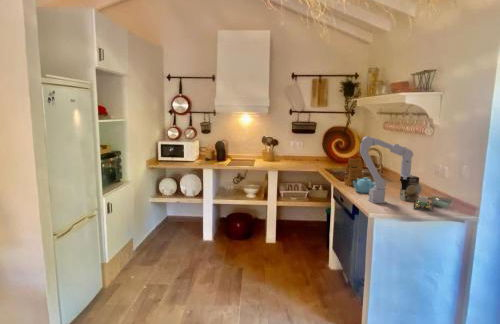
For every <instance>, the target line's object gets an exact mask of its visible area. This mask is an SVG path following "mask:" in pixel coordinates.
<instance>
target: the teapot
mask: <svg viewBox="0 0 500 324" xmlns="http://www.w3.org/2000/svg"><path fill="white" fill-rule="evenodd" d="M353 184H354V186H353V188H354V189H355V191H356V192H357V193H359V194H365V195H366V194H368V195H369V190H370V189H372V188H374V186H375V184H374V181H373V180H371V179H369V178H368V177H363V178H362V179H360V178H357V183H356V181H353Z"/></svg>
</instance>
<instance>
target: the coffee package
mask: <svg viewBox="0 0 500 324" xmlns="http://www.w3.org/2000/svg"><path fill="white" fill-rule="evenodd" d="M362 162H363V161H362V157H361V158H360V157H358V158H348V162H347V165H346V167H345V172H344V185H345V186H347V187H354V184H353V181H356V183H357V178H360V179H363V163H362Z"/></svg>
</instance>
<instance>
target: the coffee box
mask: <svg viewBox="0 0 500 324" xmlns="http://www.w3.org/2000/svg"><path fill="white" fill-rule="evenodd" d="M409 180H410V181H409V182H408V184H407V188H406V190H402V185H401V184H400V189H399V190H400V191H399V199H400V200H401V201H403V202H404V201H405V202H407V201H408V202H416V200H418V197H419V195H418V186H419V184H420V177H419V176H416V175H412V176H410V179H409Z"/></svg>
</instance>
